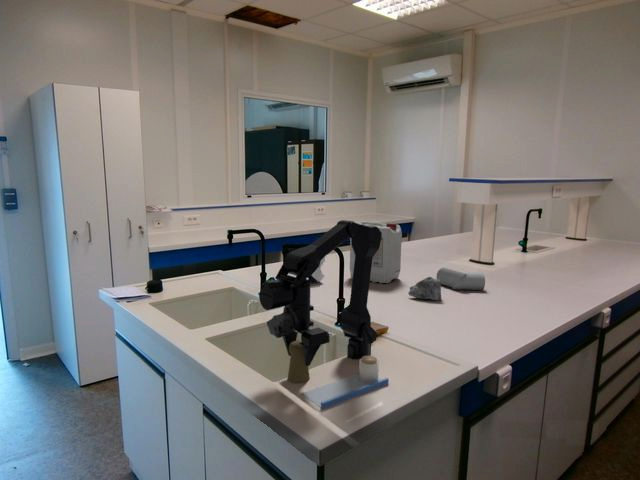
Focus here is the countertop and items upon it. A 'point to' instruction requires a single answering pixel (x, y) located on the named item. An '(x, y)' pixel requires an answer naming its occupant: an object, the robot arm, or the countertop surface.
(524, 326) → the countertop surface
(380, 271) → the jerry can
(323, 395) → the shelf
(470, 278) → the bent grey cylinder
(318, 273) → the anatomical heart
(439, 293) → the mineral rock
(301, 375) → the olive waisted cylinder
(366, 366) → the ceramic jar
